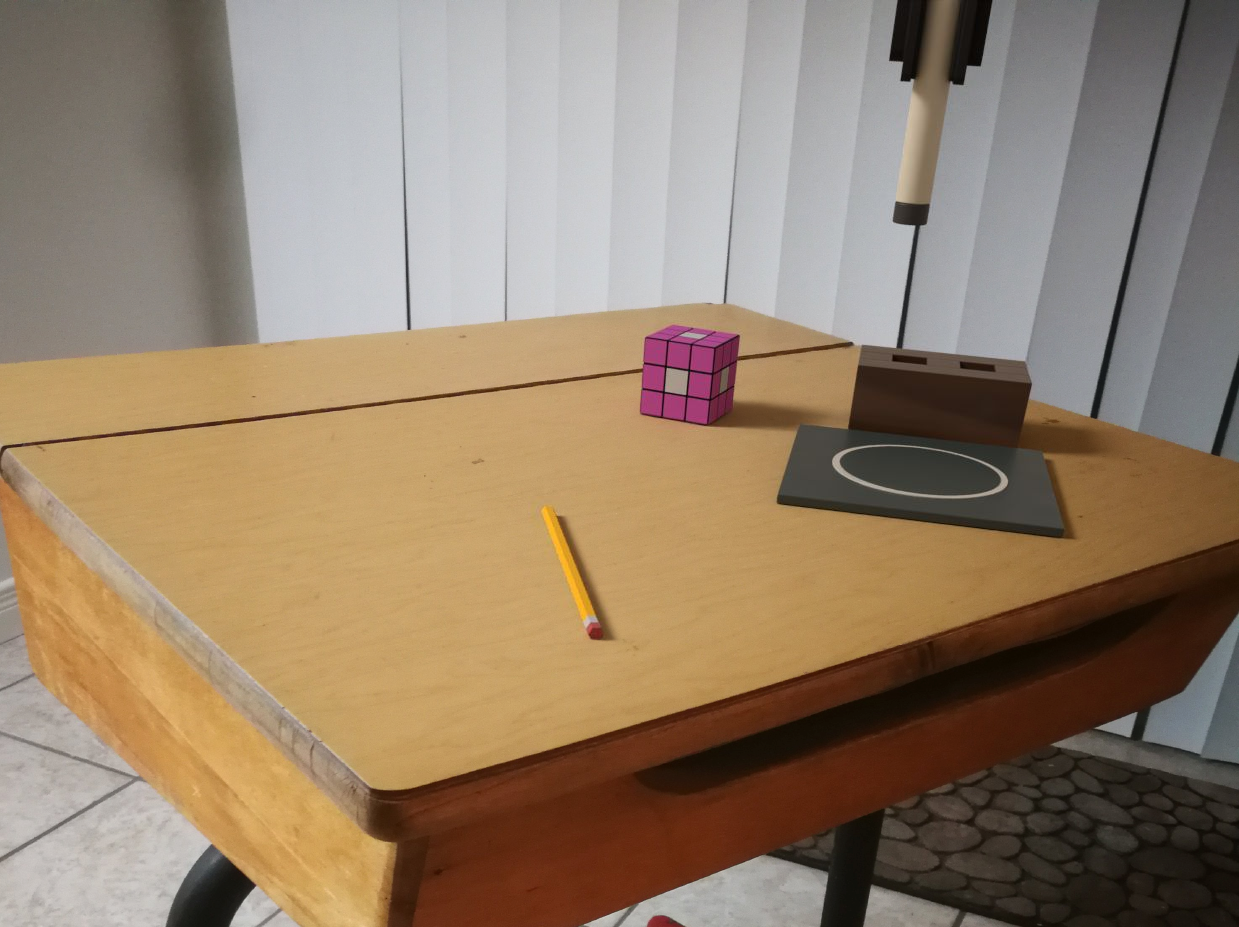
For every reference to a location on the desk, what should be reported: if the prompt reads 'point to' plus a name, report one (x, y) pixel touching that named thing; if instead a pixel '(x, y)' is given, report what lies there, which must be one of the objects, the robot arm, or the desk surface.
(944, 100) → the marker
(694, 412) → the puzzle toy
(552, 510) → the pencil
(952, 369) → the holder
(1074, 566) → the desk surface
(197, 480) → the desk surface
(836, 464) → the board
